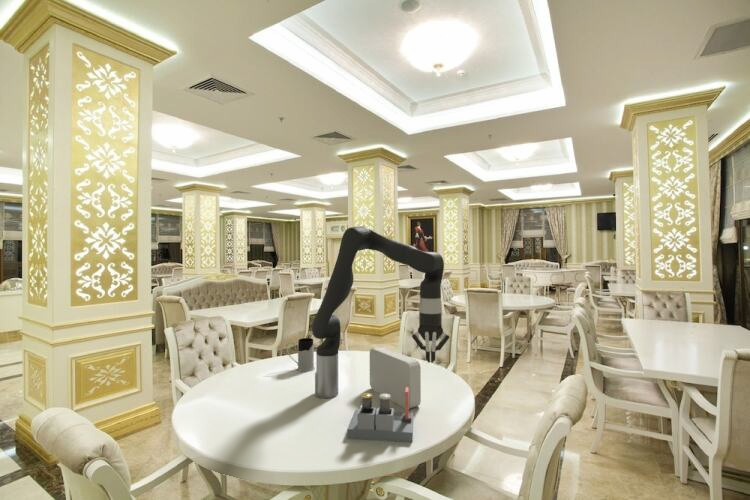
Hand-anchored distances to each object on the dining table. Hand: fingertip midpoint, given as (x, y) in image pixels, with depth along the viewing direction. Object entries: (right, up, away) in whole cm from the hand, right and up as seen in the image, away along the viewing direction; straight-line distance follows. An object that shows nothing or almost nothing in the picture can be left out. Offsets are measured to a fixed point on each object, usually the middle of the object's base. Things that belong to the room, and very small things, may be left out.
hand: (430, 361), depth 128 cm
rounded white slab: (-11, -23, +28) cm, 38 cm away
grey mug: (-57, -23, +66) cm, 90 cm away
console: (-17, -23, 0) cm, 28 cm away
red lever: (-8, -20, +1) cm, 21 cm away
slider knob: (-23, -20, +6) cm, 31 cm away
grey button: (-16, -15, -4) cm, 22 cm away
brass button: (-22, -15, -4) cm, 26 cm away
